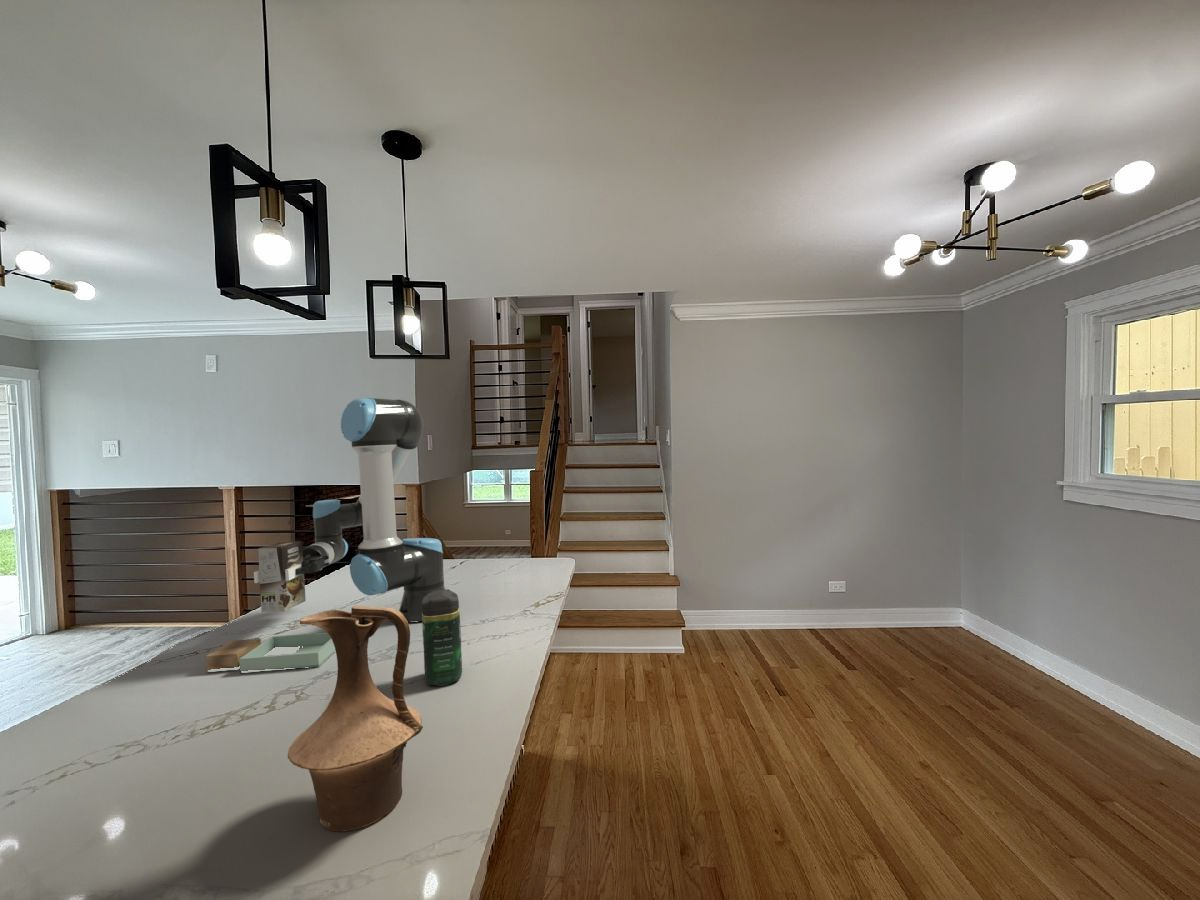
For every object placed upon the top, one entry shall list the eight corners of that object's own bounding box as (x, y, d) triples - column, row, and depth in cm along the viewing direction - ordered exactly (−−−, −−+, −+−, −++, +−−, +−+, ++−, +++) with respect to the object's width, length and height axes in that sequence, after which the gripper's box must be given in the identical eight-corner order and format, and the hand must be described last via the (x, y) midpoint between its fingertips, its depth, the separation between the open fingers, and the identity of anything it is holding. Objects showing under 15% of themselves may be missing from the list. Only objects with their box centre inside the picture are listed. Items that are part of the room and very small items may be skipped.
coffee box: (285, 611, 133) (281, 546, 133) (260, 612, 134) (256, 548, 133) (307, 600, 142) (303, 540, 142) (283, 602, 143) (279, 541, 143)
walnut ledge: (261, 654, 137) (260, 638, 137) (238, 670, 127) (237, 653, 127) (232, 656, 136) (231, 640, 136) (206, 673, 126) (205, 656, 126)
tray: (343, 644, 141) (342, 631, 140) (319, 667, 126) (318, 652, 126) (273, 650, 139) (272, 636, 139) (240, 674, 125) (239, 659, 124)
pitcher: (441, 764, 85) (431, 587, 84) (406, 845, 68) (393, 624, 67) (328, 772, 84) (317, 594, 84) (263, 856, 67) (249, 633, 67)
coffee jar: (463, 683, 113) (459, 596, 113) (424, 690, 111) (419, 601, 111) (462, 665, 123) (457, 584, 122) (426, 671, 120) (421, 589, 120)
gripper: (350, 567, 157) (313, 588, 134) (280, 573, 155) (230, 594, 132) (348, 542, 156) (311, 558, 134) (278, 547, 155) (228, 564, 132)
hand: (271, 576), depth 133 cm, fingers closed on coffee box, 7 cm apart
